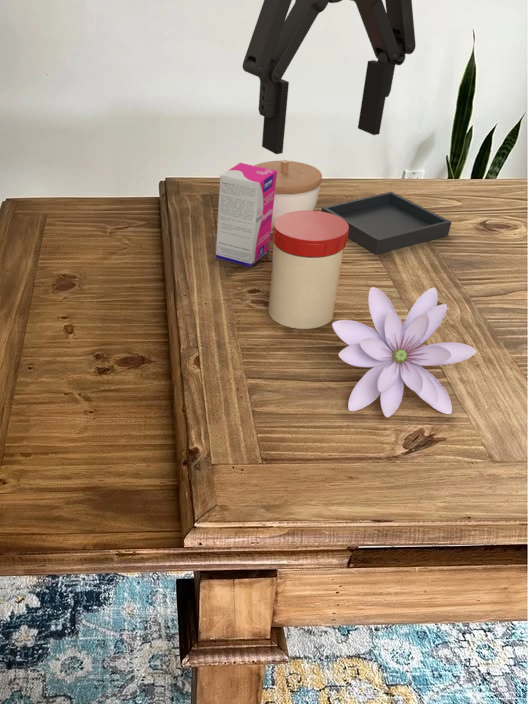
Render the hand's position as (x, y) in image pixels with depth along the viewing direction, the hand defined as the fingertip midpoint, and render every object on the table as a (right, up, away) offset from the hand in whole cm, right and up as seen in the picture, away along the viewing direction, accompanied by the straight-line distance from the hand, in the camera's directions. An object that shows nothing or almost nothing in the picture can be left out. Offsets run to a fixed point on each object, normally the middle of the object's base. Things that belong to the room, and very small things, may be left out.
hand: (321, 140), depth 77 cm
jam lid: (0, -7, +6) cm, 10 cm away
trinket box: (+1, +2, +33) cm, 33 cm away
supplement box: (-6, -4, +26) cm, 27 cm away
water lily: (+7, -27, 0) cm, 28 cm away
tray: (+16, +2, +32) cm, 35 cm away
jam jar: (0, -15, +14) cm, 20 cm away
